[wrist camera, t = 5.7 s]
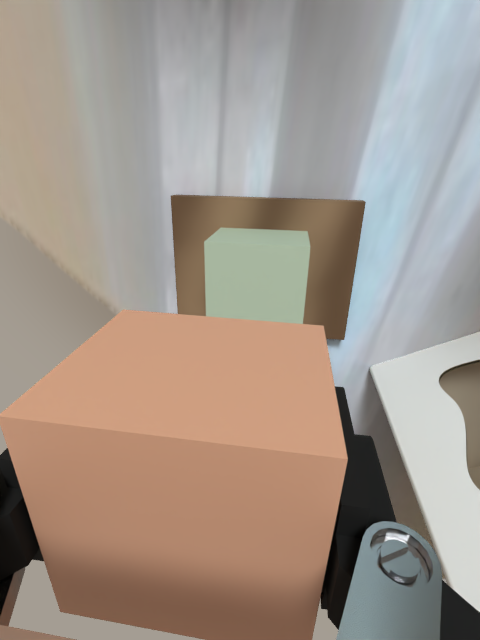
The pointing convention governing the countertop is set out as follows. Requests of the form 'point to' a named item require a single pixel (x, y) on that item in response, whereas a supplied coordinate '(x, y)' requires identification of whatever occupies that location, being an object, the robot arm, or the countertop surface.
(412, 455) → the gable box
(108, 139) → the countertop surface
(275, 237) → the sage block
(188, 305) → the walnut board
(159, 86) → the countertop surface
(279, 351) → the terracotta block
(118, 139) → the countertop surface
